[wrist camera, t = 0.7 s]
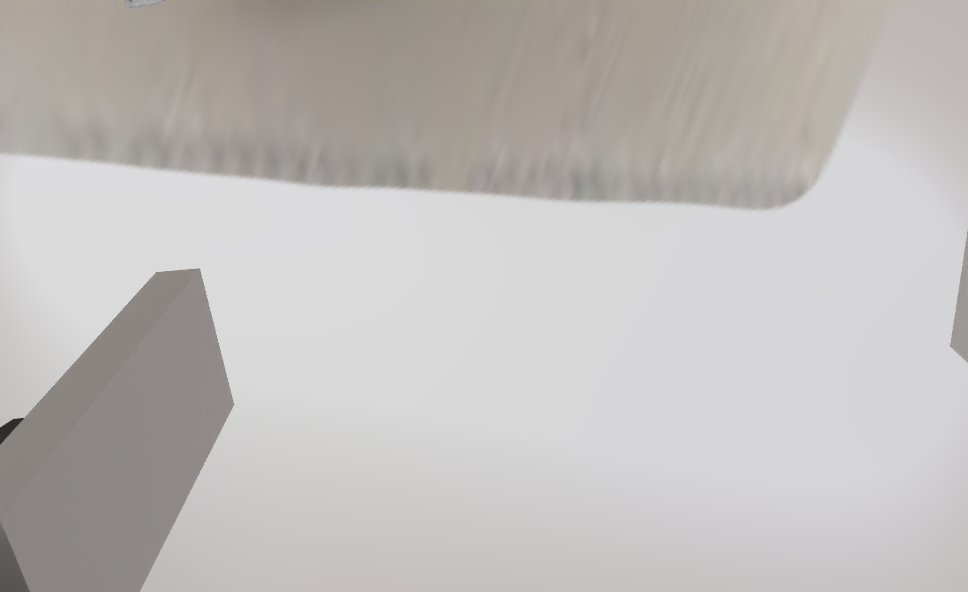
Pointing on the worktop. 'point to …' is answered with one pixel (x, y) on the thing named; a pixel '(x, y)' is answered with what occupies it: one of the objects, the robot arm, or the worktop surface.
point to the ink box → (139, 3)
